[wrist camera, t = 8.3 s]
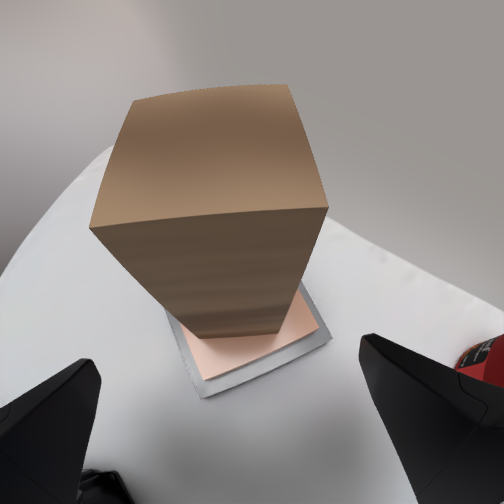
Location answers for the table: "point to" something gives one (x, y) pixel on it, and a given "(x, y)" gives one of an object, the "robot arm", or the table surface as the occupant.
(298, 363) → the table surface
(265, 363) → the pedestal
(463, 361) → the canned food
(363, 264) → the table surface
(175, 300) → the walnut post
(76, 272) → the table surface
